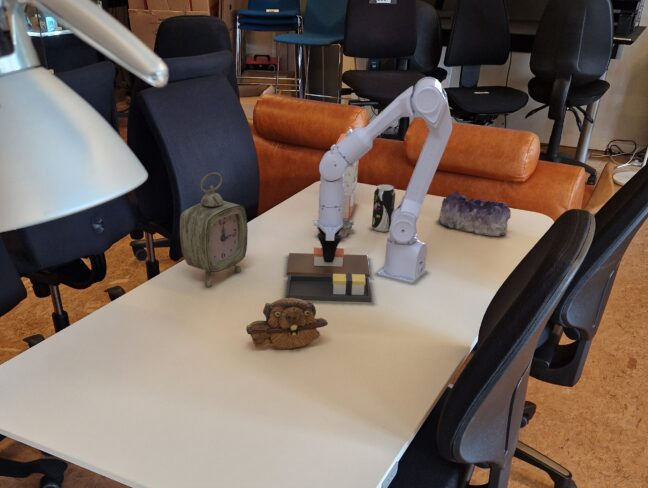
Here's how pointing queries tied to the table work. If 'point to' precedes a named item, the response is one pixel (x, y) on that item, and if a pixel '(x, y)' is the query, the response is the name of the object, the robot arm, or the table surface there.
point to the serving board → (305, 266)
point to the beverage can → (383, 207)
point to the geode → (474, 215)
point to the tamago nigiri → (348, 284)
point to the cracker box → (349, 186)
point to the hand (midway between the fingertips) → (328, 258)
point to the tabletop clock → (213, 233)
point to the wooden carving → (286, 324)
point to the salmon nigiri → (320, 262)
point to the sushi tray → (321, 289)
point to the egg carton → (344, 227)
